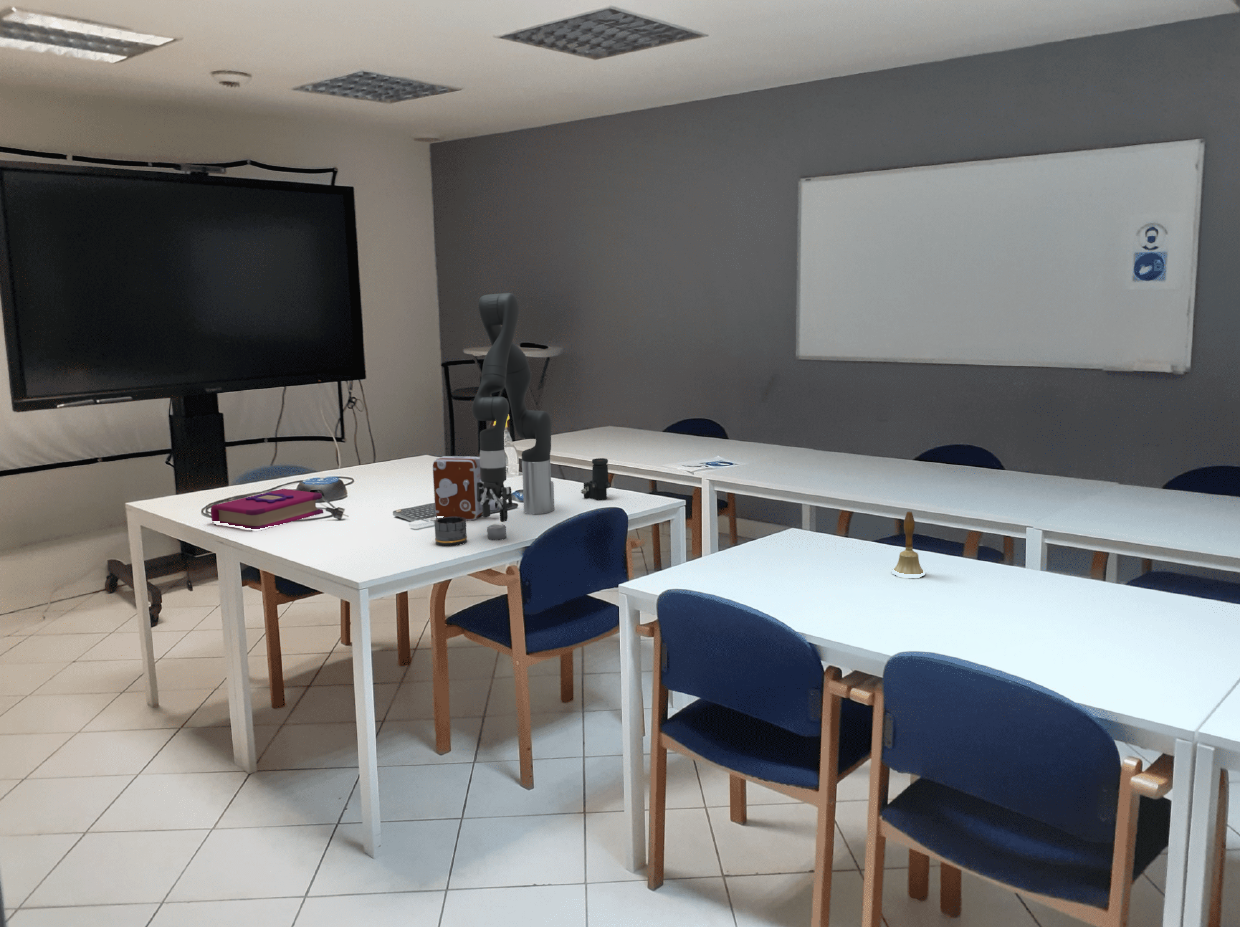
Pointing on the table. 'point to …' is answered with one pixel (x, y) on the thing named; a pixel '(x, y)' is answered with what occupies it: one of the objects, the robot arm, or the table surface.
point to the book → (267, 509)
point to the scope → (597, 481)
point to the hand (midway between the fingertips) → (495, 519)
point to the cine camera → (458, 487)
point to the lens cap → (496, 532)
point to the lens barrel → (450, 531)
